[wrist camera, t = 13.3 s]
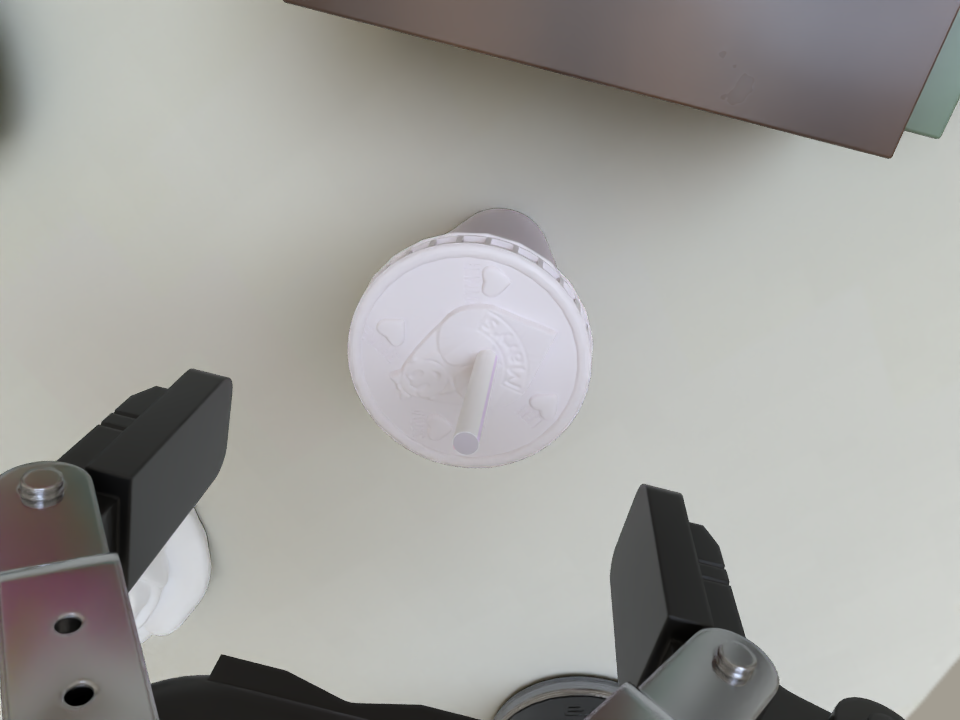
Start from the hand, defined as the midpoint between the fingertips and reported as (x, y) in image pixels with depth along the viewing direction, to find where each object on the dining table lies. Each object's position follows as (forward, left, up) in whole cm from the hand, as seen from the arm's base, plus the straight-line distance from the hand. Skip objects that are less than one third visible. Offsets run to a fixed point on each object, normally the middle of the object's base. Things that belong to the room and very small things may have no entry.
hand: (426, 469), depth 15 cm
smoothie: (0, 0, -15) cm, 15 cm away
